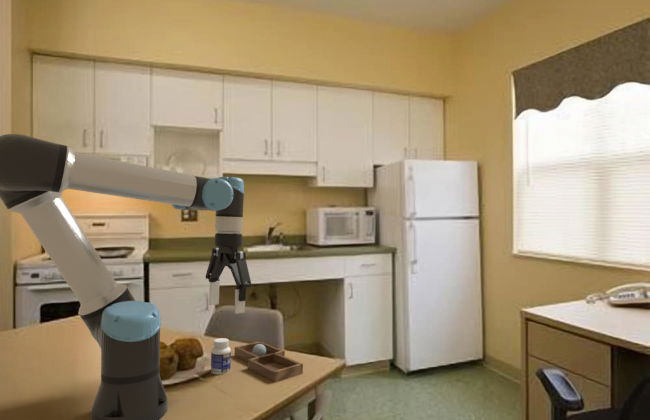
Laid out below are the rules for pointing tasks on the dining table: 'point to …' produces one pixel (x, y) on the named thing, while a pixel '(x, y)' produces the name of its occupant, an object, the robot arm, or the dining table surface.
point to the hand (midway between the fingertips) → (226, 308)
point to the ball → (259, 350)
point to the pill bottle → (221, 357)
